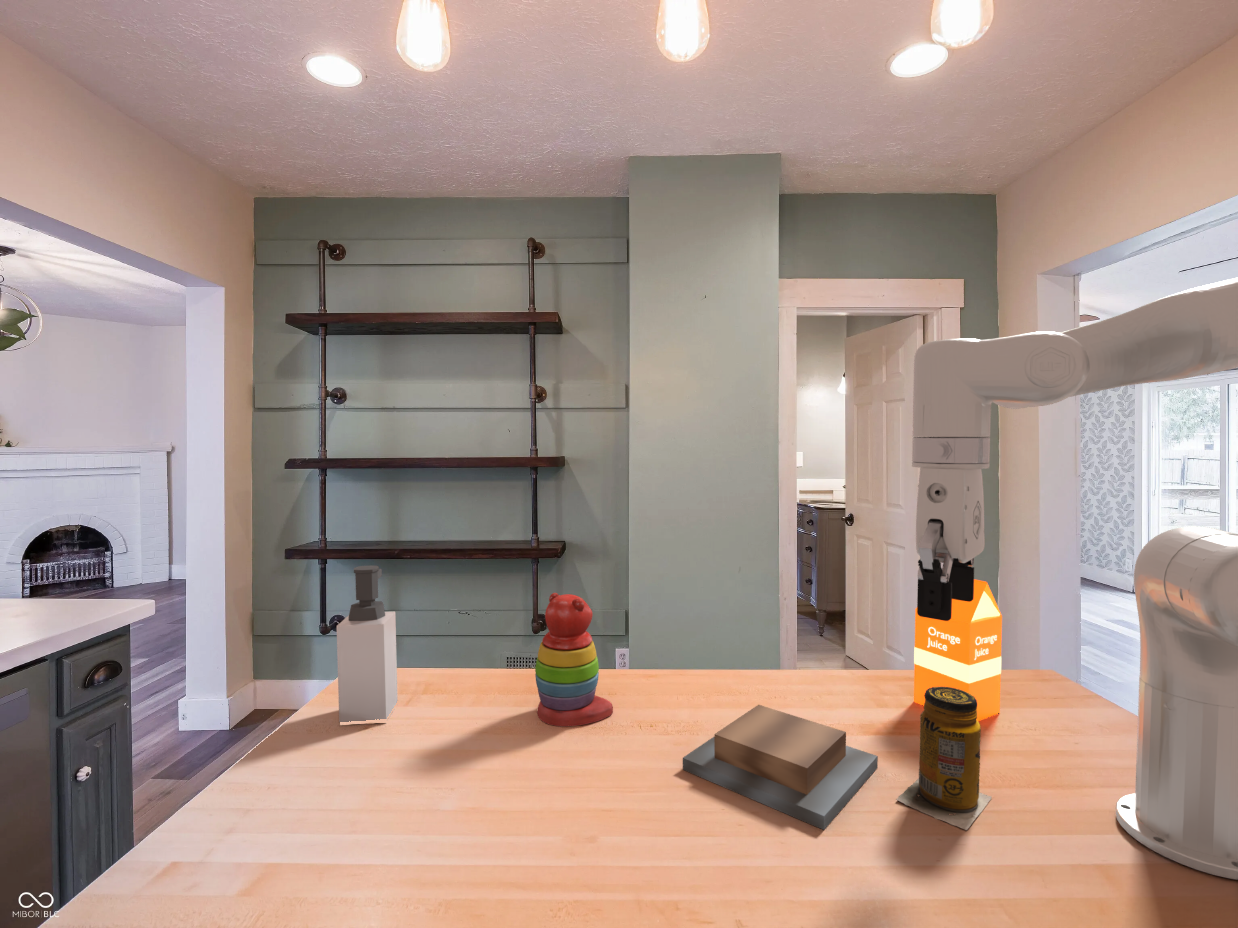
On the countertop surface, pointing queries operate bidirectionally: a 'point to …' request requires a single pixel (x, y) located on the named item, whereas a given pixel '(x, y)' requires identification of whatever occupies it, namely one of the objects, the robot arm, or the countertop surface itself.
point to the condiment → (948, 759)
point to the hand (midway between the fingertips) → (946, 608)
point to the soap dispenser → (367, 654)
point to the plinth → (785, 796)
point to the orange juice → (962, 651)
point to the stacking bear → (568, 666)
